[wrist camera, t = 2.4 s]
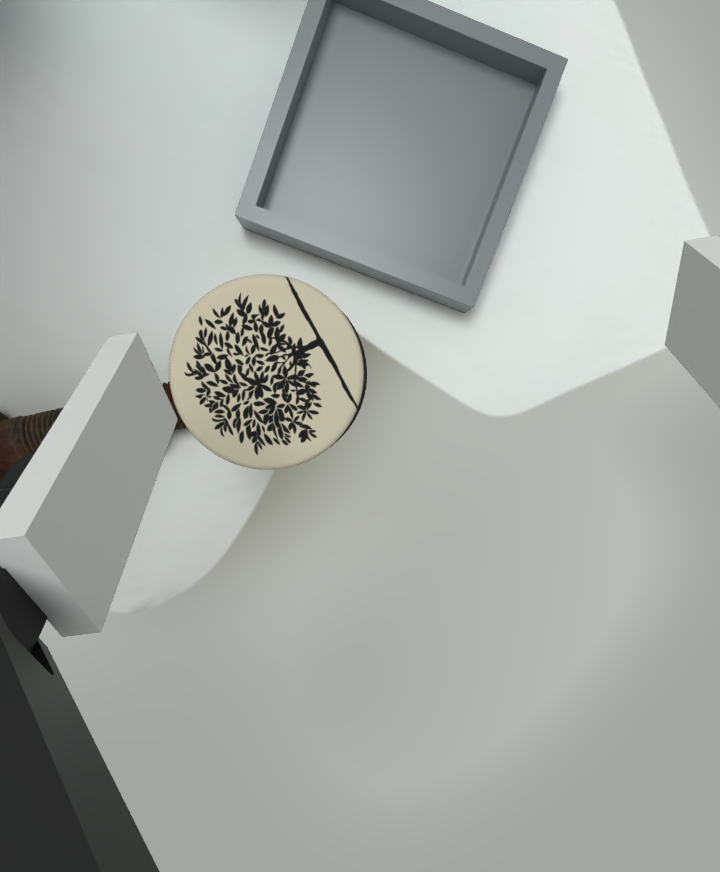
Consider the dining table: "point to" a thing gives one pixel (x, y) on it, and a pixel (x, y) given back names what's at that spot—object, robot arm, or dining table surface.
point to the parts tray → (399, 142)
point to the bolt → (39, 433)
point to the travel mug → (267, 372)
